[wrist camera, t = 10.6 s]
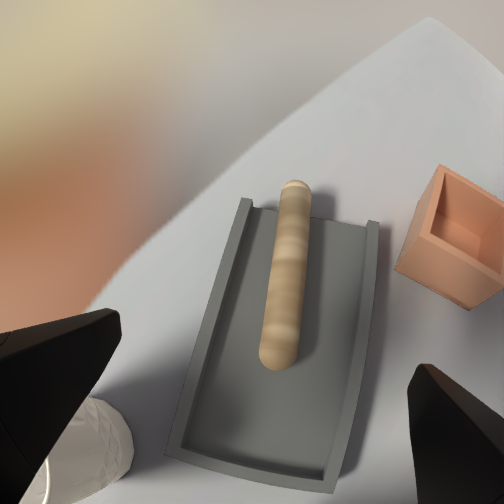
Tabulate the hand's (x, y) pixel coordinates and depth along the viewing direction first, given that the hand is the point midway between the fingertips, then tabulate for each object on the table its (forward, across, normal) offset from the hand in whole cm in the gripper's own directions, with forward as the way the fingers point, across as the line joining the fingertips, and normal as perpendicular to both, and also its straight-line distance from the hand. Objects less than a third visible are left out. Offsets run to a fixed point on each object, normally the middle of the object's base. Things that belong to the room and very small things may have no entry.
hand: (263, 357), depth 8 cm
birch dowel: (+9, 0, +7) cm, 11 cm away
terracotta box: (+16, -13, 0) cm, 20 cm away
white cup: (+3, +11, +14) cm, 18 cm away
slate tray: (+10, -1, +6) cm, 12 cm away
